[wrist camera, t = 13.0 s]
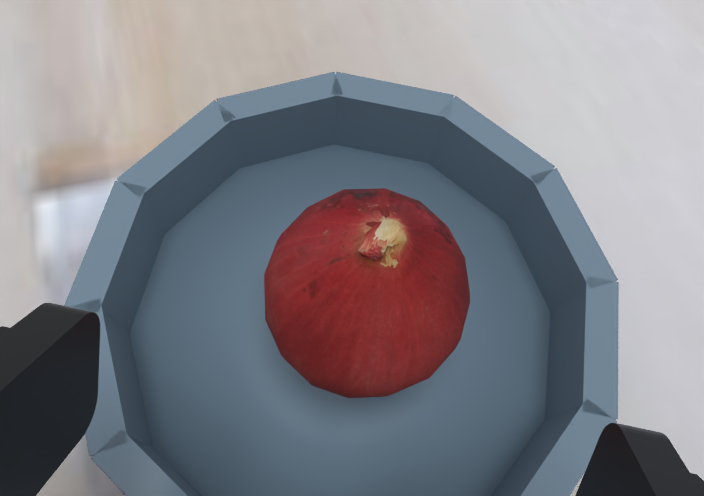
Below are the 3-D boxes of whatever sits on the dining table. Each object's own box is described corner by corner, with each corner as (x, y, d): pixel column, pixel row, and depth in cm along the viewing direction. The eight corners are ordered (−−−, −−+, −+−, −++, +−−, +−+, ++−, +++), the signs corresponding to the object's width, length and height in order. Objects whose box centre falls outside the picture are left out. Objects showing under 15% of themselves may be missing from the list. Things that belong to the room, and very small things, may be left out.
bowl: (585, 176, 25) (633, 119, 21) (570, 658, 18) (637, 694, 14) (184, 97, 25) (163, 26, 22) (15, 542, 18) (-57, 548, 15)
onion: (267, 255, 21) (256, 115, 14) (426, 251, 22) (492, 115, 15) (268, 423, 19) (255, 356, 12) (447, 413, 20) (538, 345, 12)
